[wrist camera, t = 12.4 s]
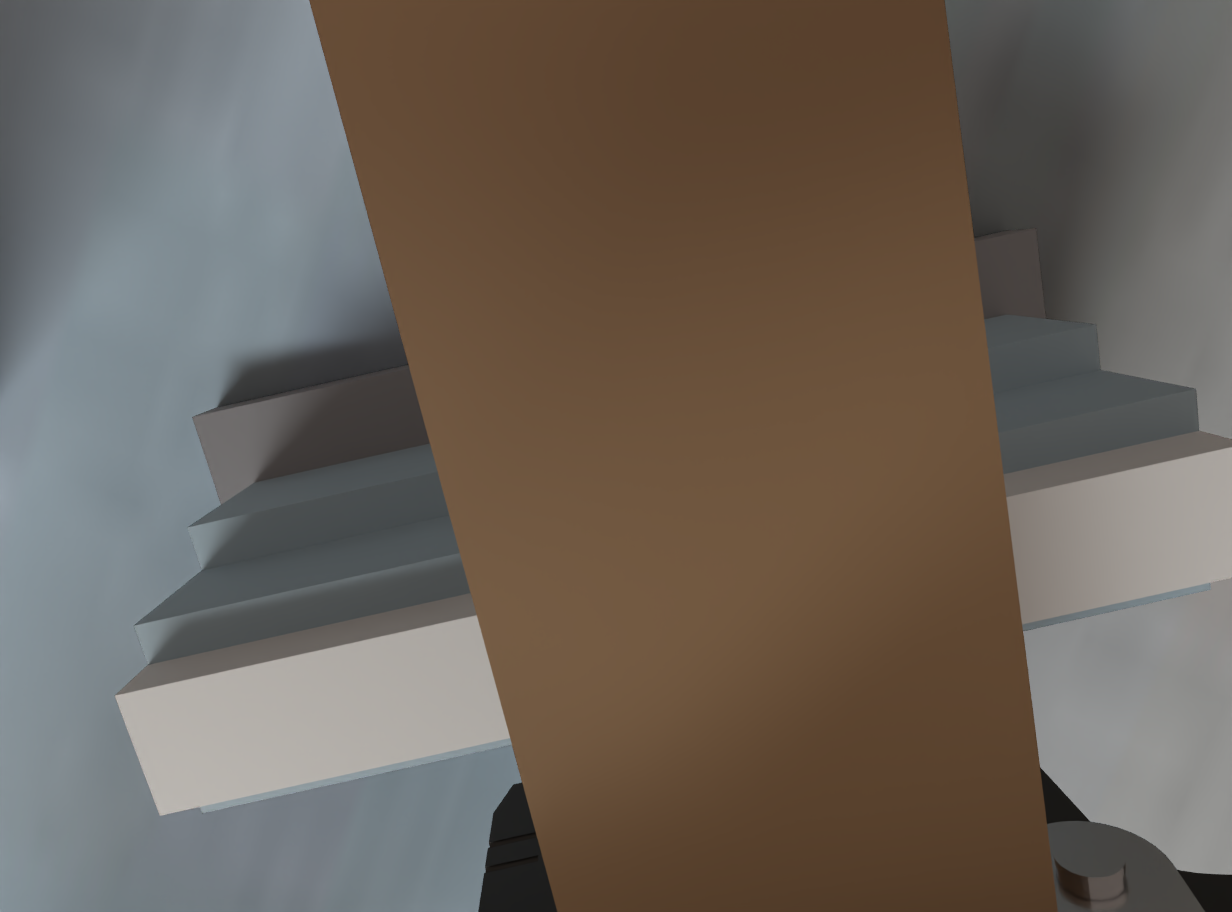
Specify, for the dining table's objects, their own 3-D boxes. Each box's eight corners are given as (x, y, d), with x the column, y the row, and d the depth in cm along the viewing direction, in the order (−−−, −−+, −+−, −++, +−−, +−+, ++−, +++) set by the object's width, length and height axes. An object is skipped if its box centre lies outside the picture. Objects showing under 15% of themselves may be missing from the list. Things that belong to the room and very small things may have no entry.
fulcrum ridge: (321, 733, 26) (173, 1001, 16) (215, 407, 24) (-24, 501, 14) (1047, 571, 26) (1319, 748, 16) (1007, 230, 24) (1294, 206, 14)
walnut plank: (372, -213, 9) (41, -987, 4) (661, -278, 9) (798, -1164, 4) (765, 1389, 15) (890, 2138, 9) (951, 1348, 15) (1202, 2071, 9)
